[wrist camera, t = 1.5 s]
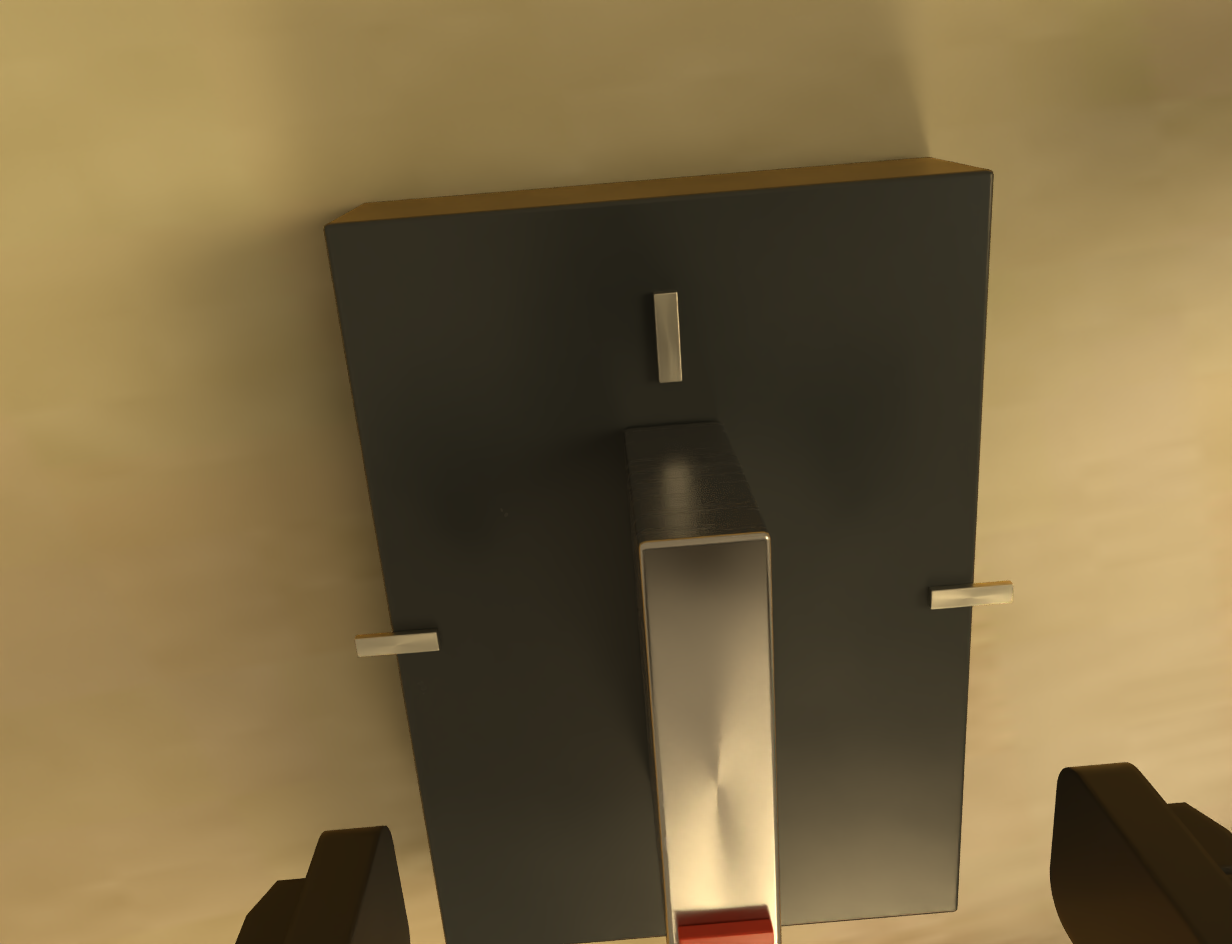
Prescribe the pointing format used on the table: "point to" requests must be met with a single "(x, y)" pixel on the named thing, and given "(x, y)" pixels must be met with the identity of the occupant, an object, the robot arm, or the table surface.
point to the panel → (600, 521)
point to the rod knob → (706, 682)
